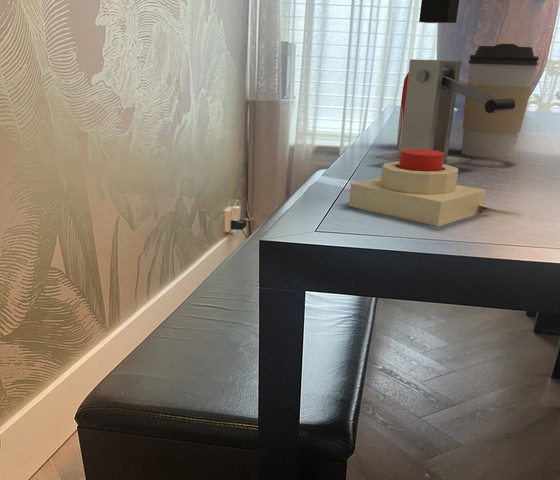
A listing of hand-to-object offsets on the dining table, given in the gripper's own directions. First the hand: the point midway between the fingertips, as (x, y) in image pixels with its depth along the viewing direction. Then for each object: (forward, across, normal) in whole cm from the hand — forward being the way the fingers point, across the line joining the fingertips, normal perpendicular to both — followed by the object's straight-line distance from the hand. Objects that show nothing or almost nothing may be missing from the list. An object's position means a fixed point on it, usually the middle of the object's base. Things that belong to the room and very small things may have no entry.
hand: (437, 22), depth 51 cm
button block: (+16, 0, 0) cm, 16 cm away
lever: (+7, -23, -10) cm, 26 cm away
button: (+12, 0, 0) cm, 12 cm away
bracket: (+16, -23, -14) cm, 31 cm away
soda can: (+16, -32, -20) cm, 41 cm away
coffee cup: (+16, -35, -11) cm, 40 cm away
